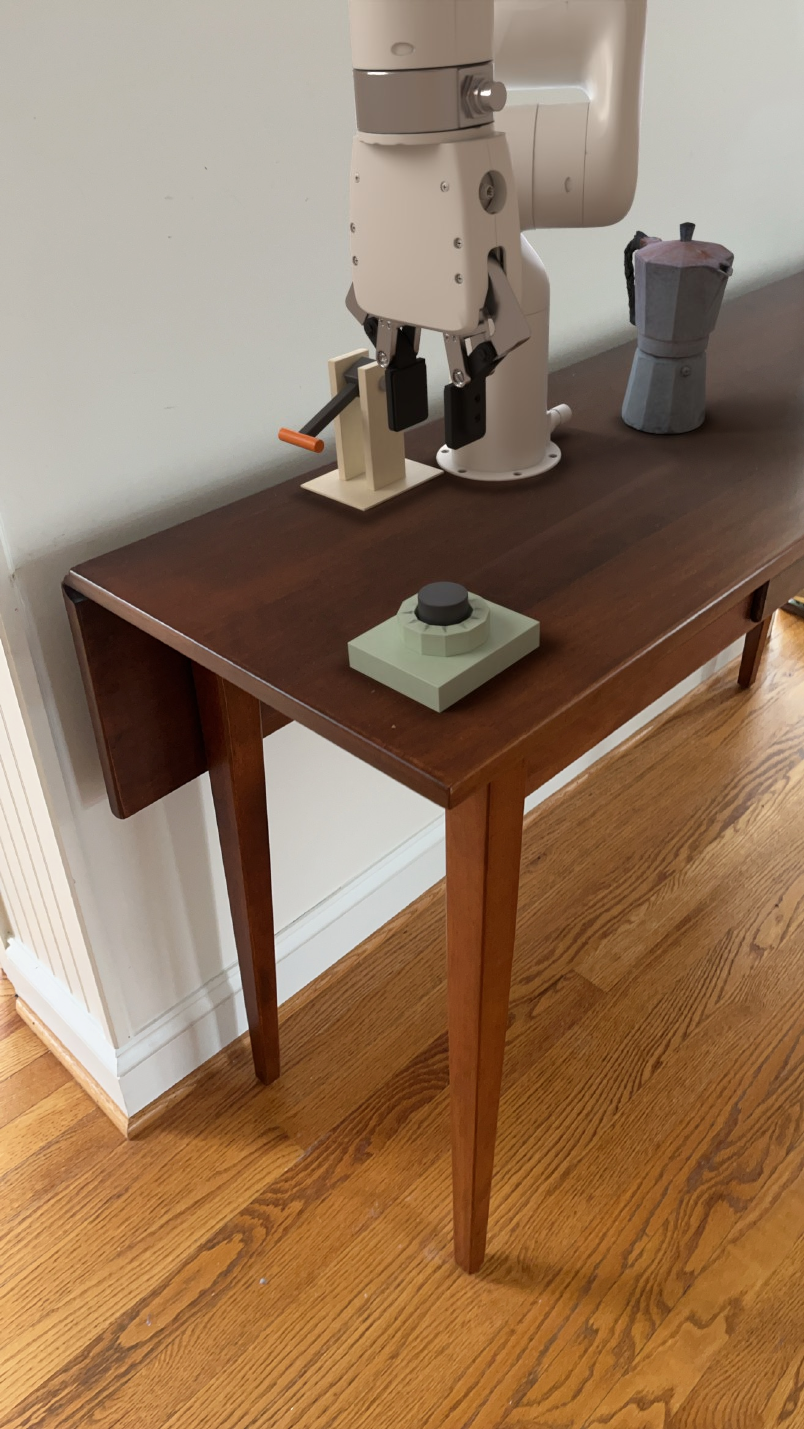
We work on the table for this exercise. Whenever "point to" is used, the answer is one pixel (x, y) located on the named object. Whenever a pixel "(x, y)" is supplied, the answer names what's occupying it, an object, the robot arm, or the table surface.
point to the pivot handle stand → (367, 443)
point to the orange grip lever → (326, 412)
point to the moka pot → (672, 327)
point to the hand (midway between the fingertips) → (436, 431)
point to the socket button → (443, 604)
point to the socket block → (443, 651)
